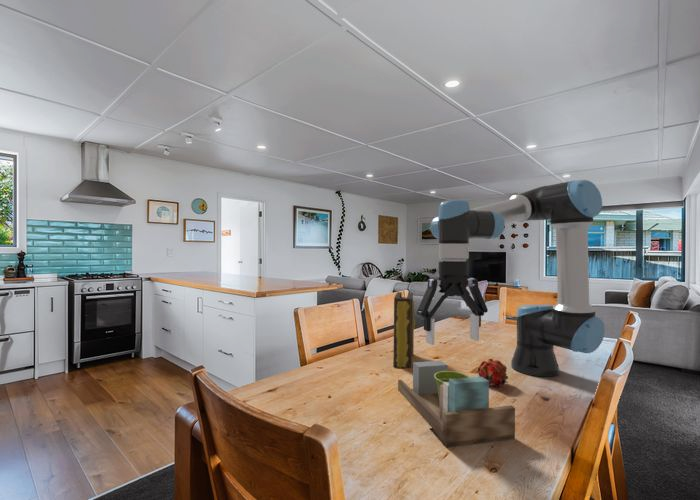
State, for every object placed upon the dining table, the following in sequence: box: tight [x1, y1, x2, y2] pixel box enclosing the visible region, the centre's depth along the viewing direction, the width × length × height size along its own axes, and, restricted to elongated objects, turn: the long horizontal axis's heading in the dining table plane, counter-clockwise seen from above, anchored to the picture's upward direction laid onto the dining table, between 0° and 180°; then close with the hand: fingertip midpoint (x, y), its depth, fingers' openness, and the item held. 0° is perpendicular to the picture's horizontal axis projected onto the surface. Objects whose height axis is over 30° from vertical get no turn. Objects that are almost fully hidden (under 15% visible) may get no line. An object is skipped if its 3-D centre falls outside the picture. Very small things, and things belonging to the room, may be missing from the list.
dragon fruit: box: [477, 358, 509, 388], centre depth 111 cm, size 8×8×12 cm
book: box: [392, 291, 416, 369], centre depth 136 cm, size 22×8×25 cm, turn 168°
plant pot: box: [434, 370, 471, 403], centre depth 91 cm, size 9×9×9 cm
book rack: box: [397, 376, 516, 448], centre depth 91 cm, size 17×29×13 cm, turn 13°
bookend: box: [412, 360, 449, 395], centre depth 103 cm, size 9×4×8 cm, turn 103°
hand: (452, 341), depth 92 cm, fingers open, 13 cm apart
